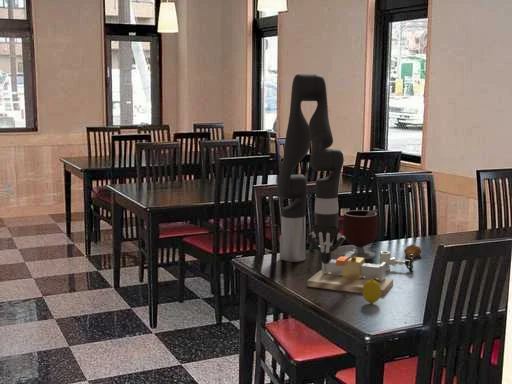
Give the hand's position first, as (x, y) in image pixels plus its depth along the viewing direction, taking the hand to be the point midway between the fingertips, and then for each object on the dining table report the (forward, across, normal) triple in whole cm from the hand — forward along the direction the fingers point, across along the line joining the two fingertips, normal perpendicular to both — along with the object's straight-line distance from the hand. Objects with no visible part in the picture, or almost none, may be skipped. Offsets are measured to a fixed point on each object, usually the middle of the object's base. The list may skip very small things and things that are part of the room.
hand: (326, 263), depth 205 cm
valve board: (+10, +5, +9) cm, 14 cm away
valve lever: (0, +5, +6) cm, 8 cm away
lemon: (+10, +17, -6) cm, 20 cm away
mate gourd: (+10, -2, +48) cm, 49 cm away
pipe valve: (+8, +5, +13) cm, 16 cm away
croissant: (+10, +17, +55) cm, 58 cm away
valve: (+10, +15, +33) cm, 38 cm away
